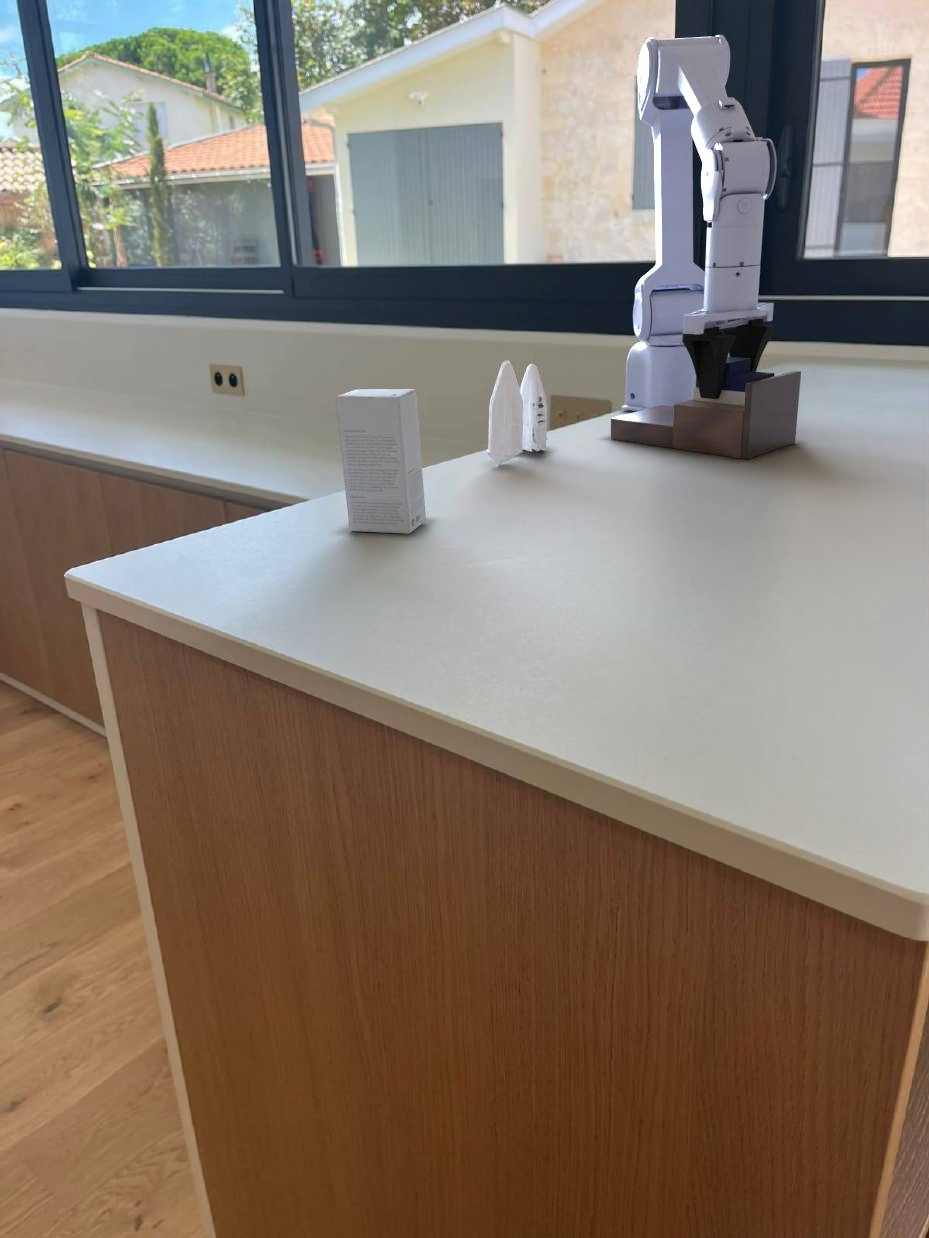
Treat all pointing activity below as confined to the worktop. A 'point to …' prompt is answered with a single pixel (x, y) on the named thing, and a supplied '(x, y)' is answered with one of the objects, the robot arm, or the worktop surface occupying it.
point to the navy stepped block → (734, 382)
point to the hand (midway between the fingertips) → (725, 394)
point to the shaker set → (516, 414)
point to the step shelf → (721, 421)
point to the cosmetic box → (381, 459)
